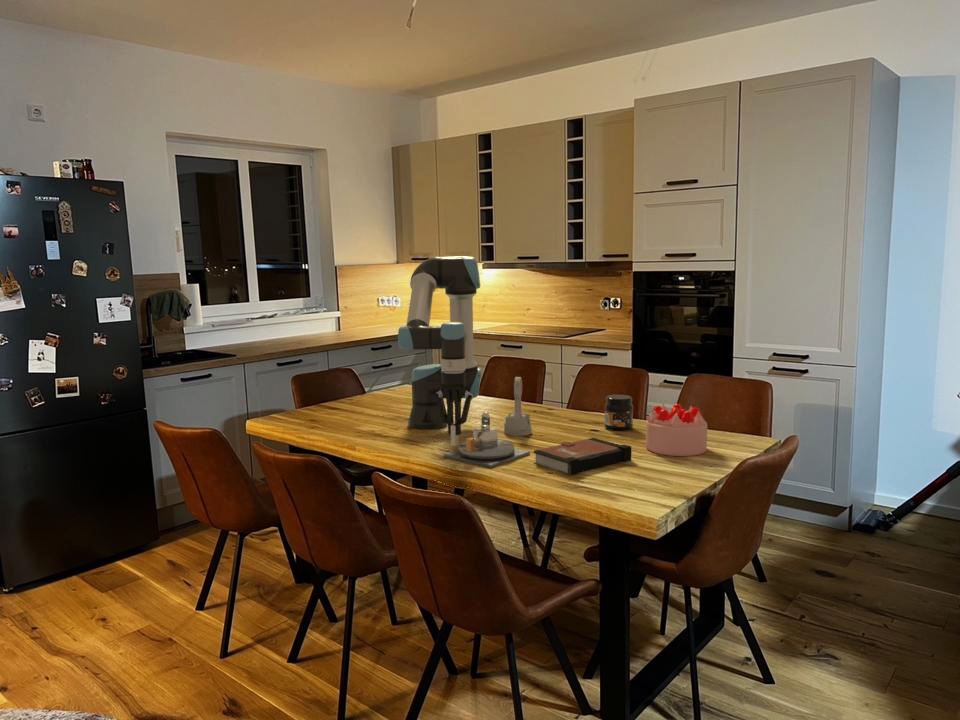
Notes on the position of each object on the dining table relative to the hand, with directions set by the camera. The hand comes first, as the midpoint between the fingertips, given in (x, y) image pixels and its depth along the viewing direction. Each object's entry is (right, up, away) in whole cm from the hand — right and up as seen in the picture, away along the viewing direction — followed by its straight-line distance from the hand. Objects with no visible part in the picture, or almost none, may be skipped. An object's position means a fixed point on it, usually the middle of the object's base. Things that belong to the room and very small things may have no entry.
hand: (454, 444), depth 232 cm
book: (+40, -6, -3) cm, 41 cm away
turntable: (+10, -3, +5) cm, 12 cm away
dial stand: (+10, -2, +15) cm, 18 cm away
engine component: (+22, 0, +37) cm, 43 cm away
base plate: (+10, -4, +5) cm, 12 cm away
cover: (+10, -1, +5) cm, 11 cm away
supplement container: (+60, +1, +41) cm, 73 cm away
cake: (+74, -3, +11) cm, 75 cm away
